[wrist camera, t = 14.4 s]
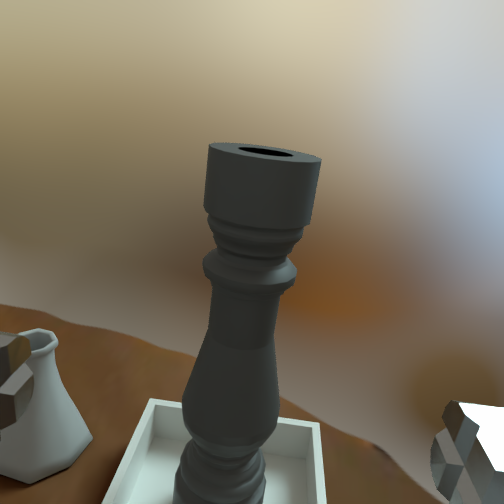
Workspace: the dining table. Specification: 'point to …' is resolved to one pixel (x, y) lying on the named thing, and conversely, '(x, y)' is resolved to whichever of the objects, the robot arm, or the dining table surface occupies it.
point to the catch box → (177, 436)
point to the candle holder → (242, 318)
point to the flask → (43, 421)
